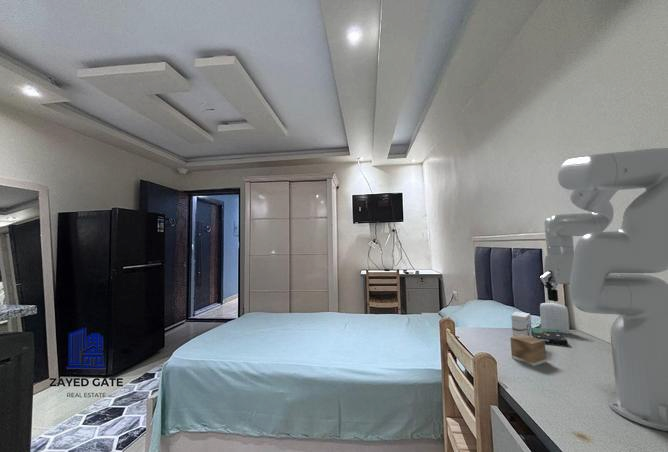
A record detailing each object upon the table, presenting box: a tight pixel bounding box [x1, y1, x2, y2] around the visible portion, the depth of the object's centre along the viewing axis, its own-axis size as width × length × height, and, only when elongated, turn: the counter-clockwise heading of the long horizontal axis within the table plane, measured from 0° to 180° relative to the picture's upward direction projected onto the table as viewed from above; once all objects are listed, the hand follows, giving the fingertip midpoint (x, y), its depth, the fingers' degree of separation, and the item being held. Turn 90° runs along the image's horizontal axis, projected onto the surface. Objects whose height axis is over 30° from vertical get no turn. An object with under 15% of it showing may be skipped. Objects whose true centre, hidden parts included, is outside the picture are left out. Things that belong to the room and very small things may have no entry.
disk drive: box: [531, 327, 569, 347], centre depth 112 cm, size 10×3×15 cm
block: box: [510, 335, 547, 367], centre depth 92 cm, size 7×7×7 cm
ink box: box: [510, 311, 532, 337], centre depth 107 cm, size 9×5×12 cm, turn 134°
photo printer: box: [539, 302, 570, 335], centre depth 123 cm, size 10×4×12 cm, turn 36°
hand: (564, 300), depth 95 cm, fingers open, 9 cm apart
